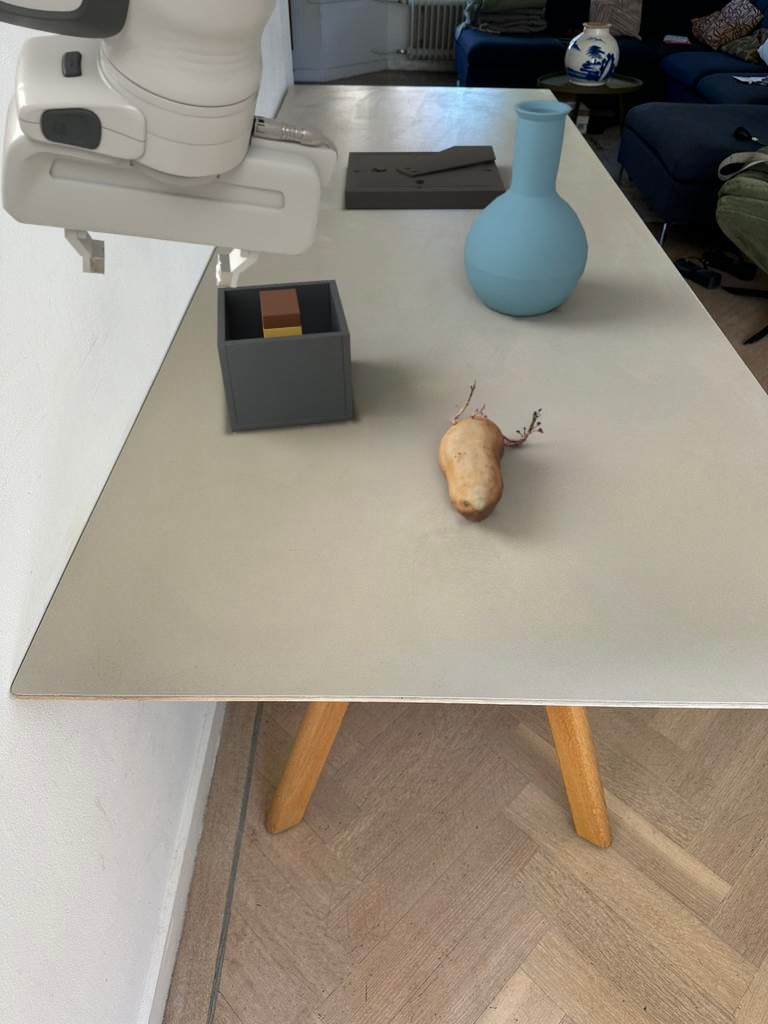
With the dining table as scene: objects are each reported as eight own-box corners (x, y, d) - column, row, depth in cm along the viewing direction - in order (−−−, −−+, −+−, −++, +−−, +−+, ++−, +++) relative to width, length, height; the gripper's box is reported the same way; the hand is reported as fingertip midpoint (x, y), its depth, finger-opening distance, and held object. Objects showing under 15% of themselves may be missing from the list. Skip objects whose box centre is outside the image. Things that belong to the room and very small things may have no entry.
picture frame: (490, 167, 153) (349, 168, 154) (491, 145, 151) (348, 146, 151) (504, 208, 136) (345, 208, 136) (506, 183, 133) (344, 184, 133)
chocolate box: (272, 404, 87) (261, 315, 80) (269, 377, 91) (259, 290, 84) (307, 401, 87) (300, 312, 80) (303, 374, 92) (295, 288, 85)
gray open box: (231, 431, 84) (216, 345, 77) (230, 369, 94) (217, 287, 87) (353, 419, 85) (350, 334, 79) (339, 359, 96) (335, 279, 89)
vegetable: (575, 517, 68) (533, 432, 63) (463, 558, 72) (415, 480, 67) (554, 426, 81) (518, 348, 75) (460, 464, 84) (419, 392, 79)
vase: (476, 332, 101) (493, 128, 84) (449, 280, 113) (460, 92, 97) (595, 323, 103) (635, 121, 86) (556, 272, 115) (584, 87, 99)
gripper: (337, 102, 50) (292, 259, 62) (-9, 33, 43) (13, 226, 54) (353, 166, 47) (302, 318, 59) (-15, 105, 40) (9, 292, 51)
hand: (161, 274), depth 56 cm, fingers open, 8 cm apart
